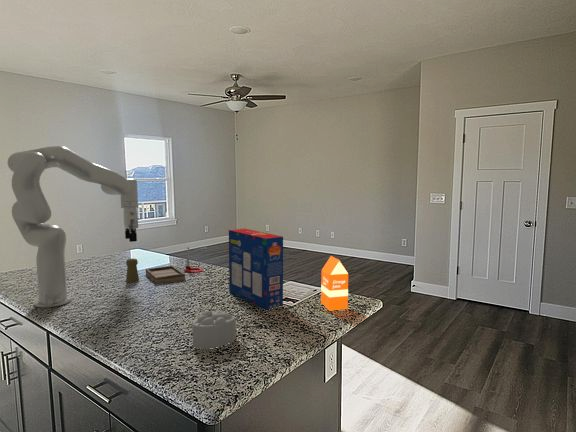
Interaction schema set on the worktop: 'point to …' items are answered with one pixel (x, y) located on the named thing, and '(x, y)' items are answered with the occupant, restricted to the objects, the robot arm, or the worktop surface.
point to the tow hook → (189, 265)
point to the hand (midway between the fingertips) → (131, 239)
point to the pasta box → (256, 267)
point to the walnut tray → (165, 274)
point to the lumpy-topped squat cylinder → (213, 329)
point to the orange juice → (334, 285)
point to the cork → (132, 271)
